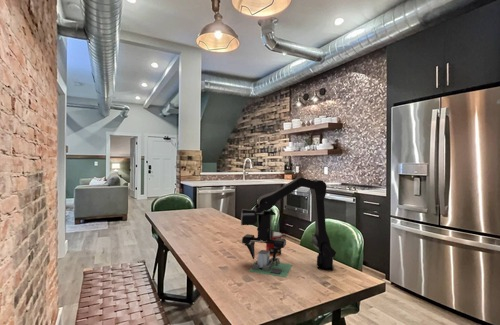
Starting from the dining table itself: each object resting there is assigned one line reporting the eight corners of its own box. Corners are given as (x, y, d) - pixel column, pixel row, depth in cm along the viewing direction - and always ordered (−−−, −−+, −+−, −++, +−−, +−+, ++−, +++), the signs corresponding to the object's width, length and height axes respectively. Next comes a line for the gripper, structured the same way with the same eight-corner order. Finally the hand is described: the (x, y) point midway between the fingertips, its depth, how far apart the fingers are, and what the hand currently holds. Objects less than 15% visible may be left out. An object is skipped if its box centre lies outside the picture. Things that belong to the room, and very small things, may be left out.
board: (292, 266, 127) (292, 260, 127) (285, 279, 113) (285, 272, 113) (259, 261, 132) (259, 255, 132) (248, 273, 118) (248, 266, 118)
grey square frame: (273, 265, 126) (273, 260, 126) (268, 271, 118) (268, 267, 118) (258, 263, 128) (258, 258, 128) (252, 269, 121) (253, 264, 121)
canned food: (269, 258, 137) (269, 236, 137) (263, 253, 145) (264, 232, 145) (283, 257, 139) (284, 235, 139) (277, 252, 147) (278, 231, 147)
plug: (269, 264, 125) (269, 250, 125) (265, 269, 119) (266, 254, 119) (260, 263, 126) (261, 249, 126) (256, 267, 121) (257, 253, 121)
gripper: (289, 223, 128) (288, 257, 128) (250, 219, 134) (249, 252, 134) (283, 228, 117) (282, 265, 117) (241, 224, 123) (241, 259, 123)
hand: (263, 260), depth 123 cm, fingers open, 9 cm apart
